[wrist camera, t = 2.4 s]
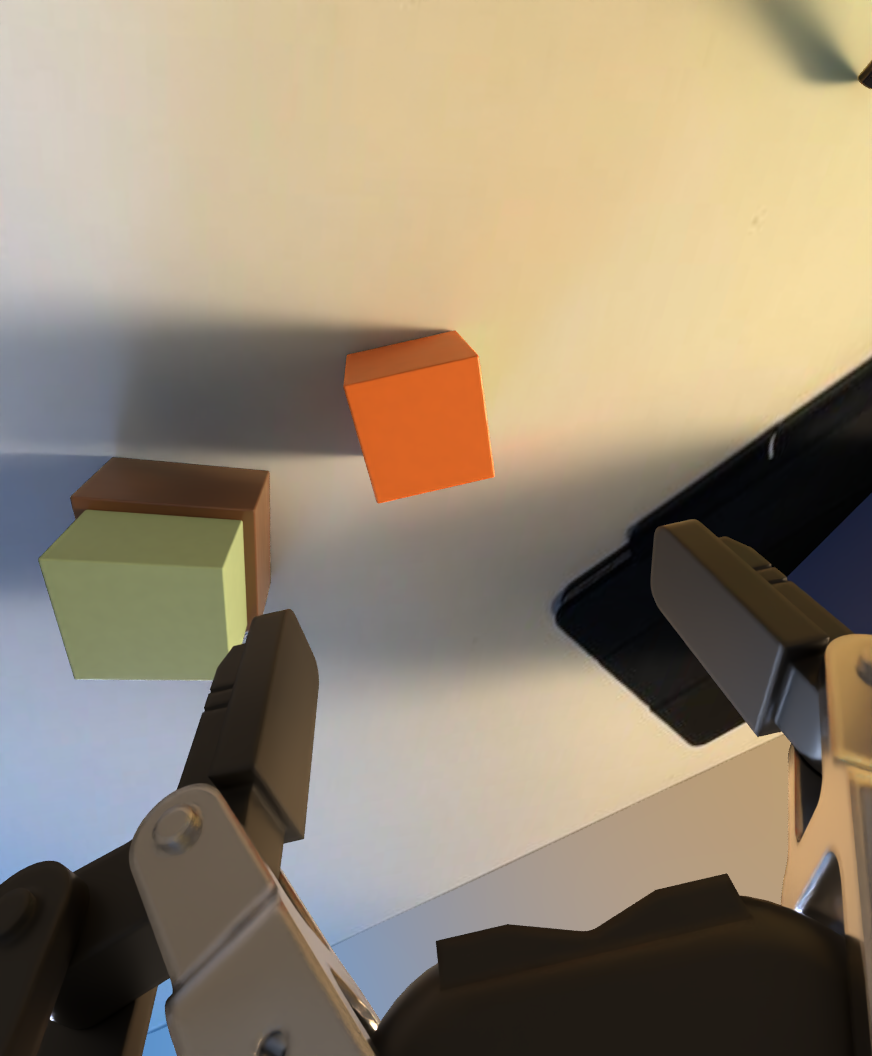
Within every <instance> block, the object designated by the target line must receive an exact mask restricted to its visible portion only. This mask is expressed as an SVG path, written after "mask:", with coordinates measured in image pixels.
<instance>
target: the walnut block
mask: <svg viewBox="0 0 872 1056" xmlns="http://www.w3.org/2000/svg"><path fill="white" fill-rule="evenodd" d="M70 499H71V504H72V508H73V512H74V516H75V520H76V519H77V518H78V517H79V516H80V515H81V514H82V513H83V512H84V511H85V510H100V511H114V512H129V513H143V514H157V515H172V516H186V517H201V518H215V519H229V520H241V521H242V522H243V541H244V564H245V586H246V609H247V627H246V631H245V632H249V628H250V625H251V622H252V619H253V618H254V617H256V616H259V615H263V612H264V608H265V604H266V600H267V596H268V592H269V588H270V584H271V563H270V473H269V471H263V470H252V469H240V468H229V467H218V466H207V465H196V464H184V463H173V462H162V461H151V460H140V459H128V458H117V457H113V458H111V459H110V460H109V461H108V462H107V463H106V464H105V465H104V466H103V467H101V468H100V469H99V470H98V471H97V472H96V473H95V474H94V475H93V476H92V477H91V478H90V479H89V480H88V481H87V482H85V483H84V484H83V485H82V486H81V487H80V488H79V489H78V490H77V491H76V492H75V493H74V494H73V495H72V496H71V497H70Z"/></svg>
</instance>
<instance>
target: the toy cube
mask: <svg viewBox="0 0 872 1056" xmlns="http://www.w3.org/2000/svg"><path fill="white" fill-rule="evenodd" d="M343 388H344V391H345V394H346V398H347V401H348V405H349V408H350V412H351V415H352V419H353V422H354V425H355V429H356V432H357V436H358V439H359V443H360V446H361V449H362V453H363V456H364V460H365V463H366V467H367V470H368V473H369V477H370V480H371V484H372V487H373V491H374V494H375V497H376V501H377V503H383V502H387V501H392V500H396V499H400V498H405V497H409V496H413V495H418V494H422V493H426V492H431V491H435V490H440V489H444V488H448V487H453V486H457V485H461V484H466V483H470V482H474V481H479V480H483V479H488V478H492V477H494V467H493V459H492V452H491V444H490V437H489V429H488V422H487V414H486V407H485V399H484V392H483V384H482V377H481V369H480V362H479V356H478V355H477V354H476V352H475V351H474V350H473V349H472V348H471V347H470V346H469V345H468V344H467V343H466V342H465V340H464V339H463V338H462V337H461V336H460V335H459V334H458V333H457V332H456V331H450V332H446V333H441V334H437V335H432V336H428V337H424V338H419V339H415V340H410V341H406V342H401V343H397V344H392V345H388V346H384V347H379V348H375V349H370V350H366V351H361V352H357V353H352V354H348V355H347V357H346V367H345V376H344V386H343Z"/></svg>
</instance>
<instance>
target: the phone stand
mask: <svg viewBox="0 0 872 1056" xmlns="http://www.w3.org/2000/svg"><path fill="white" fill-rule="evenodd" d="M787 580H788V581H792V582H793V583H795V584H796V585H797V586H798V587H799V588H801V589H802V590H803V591H804V592H805V593H807V594H808V595H809V596H810V597H811V598H813V599H814V600H815V601H816V602H817V603H819V604H820V605H821V606H822V607H823V608H825V609H826V610H827V611H828V612H829V613H831V614H832V615H833V616H834V617H835V618H837V619H838V620H839V621H840V622H841V623H843V624H844V625H845V626H846V627H847V628H849V629H850V630H851V631H852V632H853V633H855V634H868V635H872V493H871V494H870V495H869V496H868V497H867V498H866V499H865V500H864V501H863V502H862V503H861V504H860V505H859V506H858V507H857V508H856V509H855V510H854V511H853V512H852V513H851V514H850V515H849V516H848V517H847V518H846V519H845V520H844V521H843V522H842V523H841V524H840V525H839V526H838V527H837V528H836V529H835V530H834V531H833V532H832V533H831V534H830V535H829V536H828V537H827V538H826V539H825V540H824V541H823V542H822V543H821V544H820V545H819V546H818V547H817V548H816V549H815V550H814V551H813V552H812V553H811V554H810V555H809V556H808V557H807V558H806V559H805V560H804V561H803V562H802V563H801V564H800V565H799V566H798V567H797V568H796V569H795V570H794V571H793V572H792V573H791V574H790V575H789V576H788V577H787Z"/></svg>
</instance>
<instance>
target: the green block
mask: <svg viewBox="0 0 872 1056" xmlns="http://www.w3.org/2000/svg"><path fill="white" fill-rule="evenodd" d="M38 561H39V564H40V568H41V571H42V574H43V577H44V581H45V584H46V587H47V591H48V594H49V597H50V600H51V604H52V607H53V610H54V613H55V617H56V620H57V623H58V626H59V630H60V633H61V636H62V640H63V643H64V646H65V649H66V653H67V656H68V659H69V662H70V666H71V669H72V672H73V676H74V679H76V680H193V681H213V679H214V676H215V673H216V670H217V667H218V666H219V665H220V663H221V662H222V661H223V659H224V658H225V657H226V655H227V654H228V653H229V651H230V650H231V649H232V647H233V646H236V645H240V644H242V642H243V638H244V635H245V631H246V627H247V609H246V586H245V564H244V541H243V522H242V521H241V520H229V519H215V518H201V517H186V516H172V515H157V514H143V513H129V512H114V511H100V510H85V511H84V512H83V513H82V514H81V515H80V516H79V517H78V518H77V519H76V520H75V521H74V522H73V523H72V524H71V525H70V526H69V527H68V529H67V530H66V531H65V532H64V533H63V534H62V535H61V536H60V537H59V538H58V539H57V540H56V541H55V542H54V543H53V544H52V545H51V546H50V547H49V548H48V549H47V550H46V551H45V552H44V553H43V554H42V555H41V556H40V557H39V559H38Z"/></svg>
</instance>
